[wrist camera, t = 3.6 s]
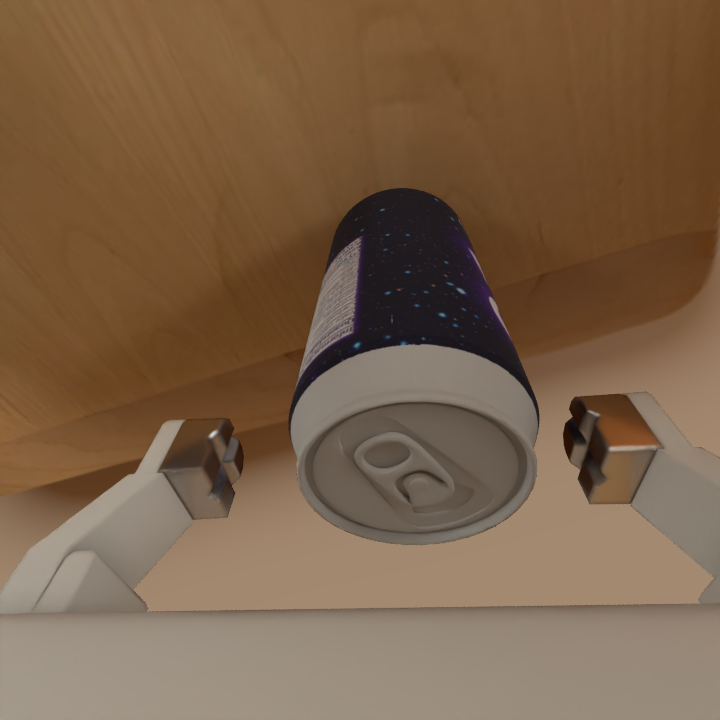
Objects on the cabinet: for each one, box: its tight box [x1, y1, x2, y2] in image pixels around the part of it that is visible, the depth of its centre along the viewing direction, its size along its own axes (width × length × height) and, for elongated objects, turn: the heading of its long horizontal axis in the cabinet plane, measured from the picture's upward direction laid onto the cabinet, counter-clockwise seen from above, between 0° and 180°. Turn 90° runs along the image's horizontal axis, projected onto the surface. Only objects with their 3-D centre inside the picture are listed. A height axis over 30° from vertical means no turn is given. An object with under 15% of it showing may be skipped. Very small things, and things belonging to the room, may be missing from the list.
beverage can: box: [289, 188, 539, 545], centre depth 13 cm, size 6×6×12 cm
